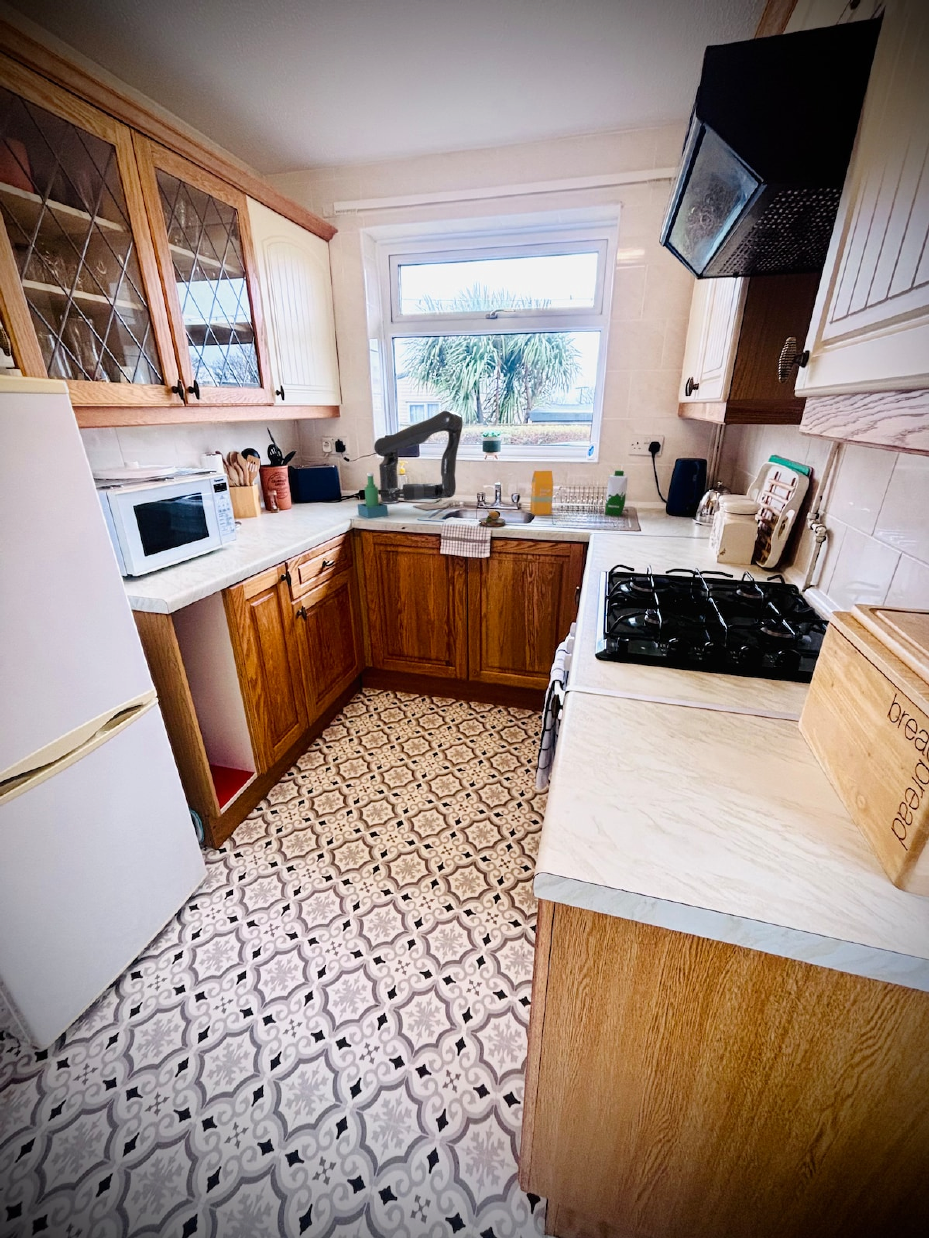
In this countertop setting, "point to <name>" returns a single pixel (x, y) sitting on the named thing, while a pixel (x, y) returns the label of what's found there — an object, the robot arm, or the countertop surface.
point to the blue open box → (372, 511)
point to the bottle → (371, 492)
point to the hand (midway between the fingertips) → (379, 493)
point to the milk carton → (616, 493)
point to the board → (430, 506)
